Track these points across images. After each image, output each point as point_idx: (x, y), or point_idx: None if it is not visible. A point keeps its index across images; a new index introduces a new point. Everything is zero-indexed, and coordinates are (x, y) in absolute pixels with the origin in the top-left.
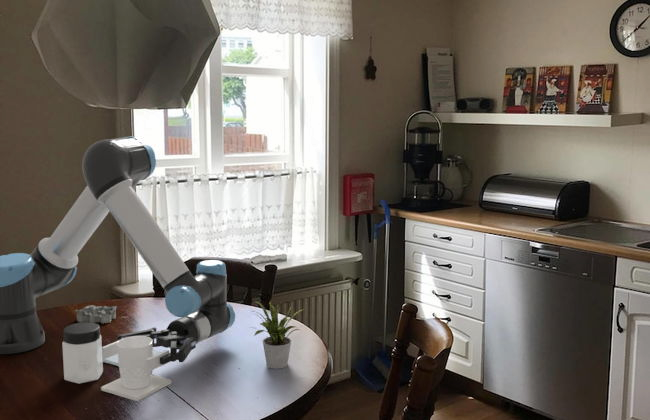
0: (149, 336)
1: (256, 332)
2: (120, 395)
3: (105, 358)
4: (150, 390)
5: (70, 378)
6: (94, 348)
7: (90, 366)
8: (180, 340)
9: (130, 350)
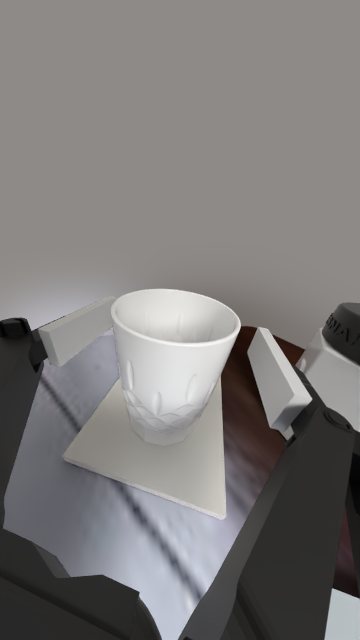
0: (240, 572)
1: None
2: None
3: (248, 353)
4: (119, 379)
5: None
6: (312, 359)
7: None
8: None
9: (163, 294)
